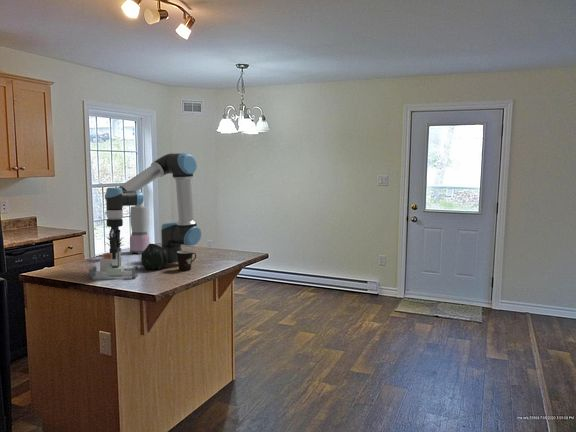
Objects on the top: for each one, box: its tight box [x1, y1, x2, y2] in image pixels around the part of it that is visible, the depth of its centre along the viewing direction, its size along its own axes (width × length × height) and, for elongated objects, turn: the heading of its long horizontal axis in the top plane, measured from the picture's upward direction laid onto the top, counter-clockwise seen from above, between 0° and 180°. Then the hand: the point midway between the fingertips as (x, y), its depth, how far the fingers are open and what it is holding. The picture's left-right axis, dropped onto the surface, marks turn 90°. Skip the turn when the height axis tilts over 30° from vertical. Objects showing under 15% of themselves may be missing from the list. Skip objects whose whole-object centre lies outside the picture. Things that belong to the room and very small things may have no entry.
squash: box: [140, 243, 169, 271], centre depth 246 cm, size 14×15×15 cm
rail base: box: [88, 265, 139, 280], centre depth 223 cm, size 22×7×5 cm, turn 98°
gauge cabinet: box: [99, 256, 122, 271], centre depth 232 cm, size 9×6×8 cm
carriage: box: [107, 247, 125, 275], centre depth 222 cm, size 7×6×13 cm
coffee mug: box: [177, 250, 197, 272], centre depth 244 cm, size 12×9×10 cm
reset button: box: [102, 252, 111, 259], centre depth 231 cm, size 4×4×4 cm
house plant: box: [103, 234, 123, 257], centre depth 270 cm, size 14×14×16 cm
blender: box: [129, 203, 150, 255], centre depth 292 cm, size 16×12×32 cm
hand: (115, 264), depth 222 cm, fingers closed on carriage, 2 cm apart
